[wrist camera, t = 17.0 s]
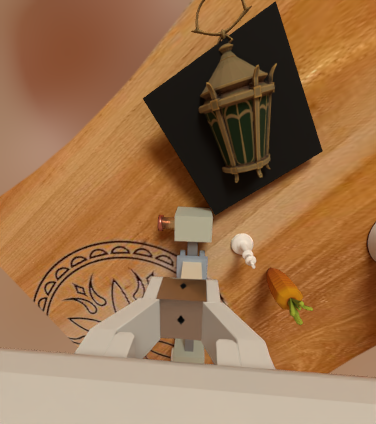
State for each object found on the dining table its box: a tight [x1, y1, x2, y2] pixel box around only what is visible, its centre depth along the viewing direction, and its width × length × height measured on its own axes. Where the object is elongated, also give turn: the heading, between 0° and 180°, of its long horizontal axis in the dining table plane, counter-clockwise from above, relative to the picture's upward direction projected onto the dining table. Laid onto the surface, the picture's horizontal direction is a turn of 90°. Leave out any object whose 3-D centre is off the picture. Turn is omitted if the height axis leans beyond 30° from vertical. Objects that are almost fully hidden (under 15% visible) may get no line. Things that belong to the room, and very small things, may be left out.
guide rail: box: [171, 207, 213, 364], centre depth 47 cm, size 8×38×7 cm, turn 178°
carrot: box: [267, 268, 313, 325], centre depth 41 cm, size 5×5×15 cm
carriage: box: [177, 250, 208, 280], centre depth 40 cm, size 6×5×11 cm
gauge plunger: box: [158, 215, 175, 231], centre depth 42 cm, size 10×3×3 cm, turn 88°
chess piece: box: [231, 233, 256, 269], centre depth 42 cm, size 5×5×10 cm
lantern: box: [143, 0, 322, 215], centre depth 35 cm, size 14×23×30 cm
